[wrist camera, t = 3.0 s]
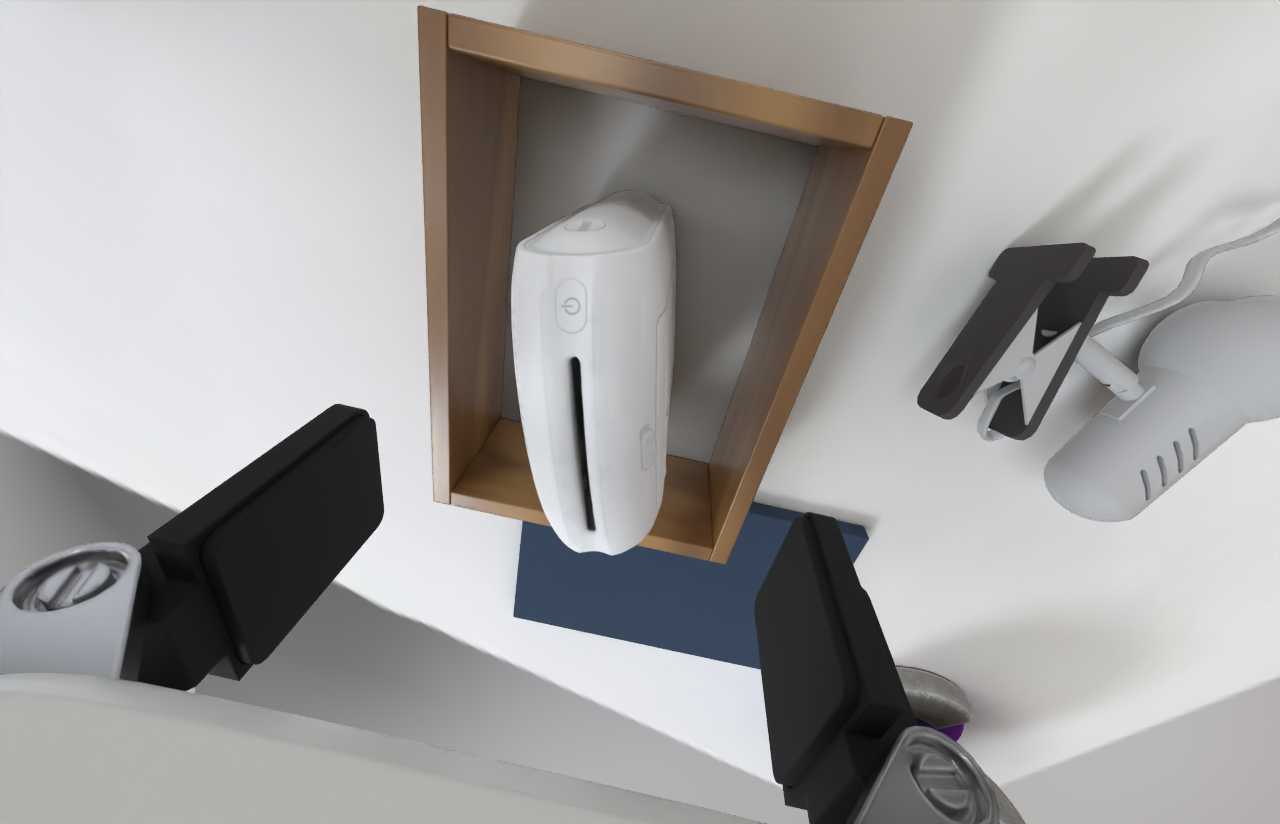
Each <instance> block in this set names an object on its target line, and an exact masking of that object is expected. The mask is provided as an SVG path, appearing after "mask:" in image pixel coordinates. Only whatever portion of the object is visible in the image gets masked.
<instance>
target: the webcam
mask: <svg viewBox="0 0 1280 824" xmlns="http://www.w3.org/2000/svg"><path fill="white" fill-rule="evenodd" d="M896 669H897V672H898V674H899V677H900V679H901V682H902V685H903V687H904V690H905V693H906V695H907V698H908V701H909V703H910V706H911V709H912V711H913V714H914V717H915V719H916V722H917V725H918V726H924V727H930V728H932V729H935V730H937V731H939V732H941V733H944V734H945V735H947V736H948V737H950V738H951V739H952V740H954V741H955V742H956V741H957V740H958V739H959V737H960V736H961V734H962V731H963V726H964V723H967V722H970V721H972V720H973V712H972V709H971V706H970V704H969V702H968V700H967V698H966V696H965V694H964V693H963V692H962V691H961V690H960V689H959V688H958V687H957V686H955V685H954V684H953V683H951V682H950V681H948V680H946V679H944V678H942V677H940V676H938V675H935V674H932V673H929V672H926V671H922V670H917V669H912V668H905V667H896ZM986 776H987V775H986ZM987 778H988V780H989V782H990V784H991V786H992V788H993V790H994V792H995V795H996V798H997V802H998V805H999V809H1000V814H999V823H1000V824H1026V823H1025V822H1024V820H1023V819H1022V817H1021V815H1020V814H1019V812H1018V811H1017V810H1016V808H1015V807H1014V805H1013V804H1012V803H1011V801H1010V800H1009V799H1008V798H1007V796H1005V794H1004V793H1003V792H1002V791H1001V789H1000V788H999V787H998V786H997V785H996V784H995V783H994V782H993V781H992V780H991V779H990V778H989V777H988V776H987Z"/></svg>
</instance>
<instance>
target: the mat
mask: <svg viewBox="0 0 1280 824" xmlns="http://www.w3.org/2000/svg"><path fill="white" fill-rule="evenodd" d="M803 516H804V514H803V513H798V512H794V511H789V510H785V509H780V508H775V507H771V506H766V505H762V504H757V503H753V502H752V504H751V506H750V509H749V511H748V513H747V516H746V518H745V520H744V523H743V525H742V527H741V530H740V532H739V534H738V537H737V539H736V541H735V544H734V546H733V549H732V551H731V553H730V556H729V558H728V560H727V563H726V564H721V563H717V562H712V561H710V560H708V561H707V560H703V559H698V558H694V557H689V556H684V555H680V554H675V553H671V552H666V551H661V550H657V549H652V548H647V547H643V546H638V545H636V546H634V547H632V548H630V549H629V550H627V551H625V552H623V553H620V554H616V555H612V556H611V555H608V554H606V553H603V552H599V551H589V552H582V553H578V552H576V551H574V550H572V549H571V548H569V547H568V546H567V545H566V544H564V543H563V542H562V540H561V539H560V538H559V537H558V535H557V534H556V532H555V531H554V529H553V527H551V526H546V525H541V524H537V523H532V522H527V521H523V524H522V534H521V544H520V554H519V564H518V574H517V585H516V595H515V605H514V615H513V616H514V617H516V618H521V619H526V620H531V621H535V622H540V623H545V624H549V625H554V626H559V627H564V628H568V629H573V630H578V631H582V632H587V633H592V634H596V635H601V636H606V637H611V638H615V639H620V640H625V641H629V642H634V643H639V644H644V645H648V646H653V647H658V648H662V649H667V650H672V651H676V652H681V653H686V654H691V655H695V656H700V657H705V658H709V659H714V660H719V661H723V662H728V663H733V664H738V665H742V666H747V667H752V668H756V669H761V666H760V658H759V649H758V641H757V632H756V624H755V615H754V605H755V599H756V596H757V594H758V592H759V590H760V588H761V586H762V584H763V582H764V580H765V578H766V576H767V574H768V572H769V570H770V567H771V565H772V563H773V561H774V559H775V557H776V555H777V553H778V551H779V549H780V547H781V545H782V543H783V541H784V539H785V537H786V535H787V533H788V531H789V529H790V527H791V525H792V523H793V521H794V519H795V518H796V517H803ZM837 523H838V525H839V528H840V531H841V533H842V536H843V539H844V541H845V544H846V547H847V550H848V552H849V555H850V558H851V560H852V563H854V562H855V560H856V559H857V557H858V555H859V554H860V552H861V551H862V549H863V547H864V546H865V544H866V543H867V541H868V540H869V537H868V535H867V533H866V530H865V528H864V527H862V526H857V525H853V524H848V523H844V522H839V521H837Z"/></svg>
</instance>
